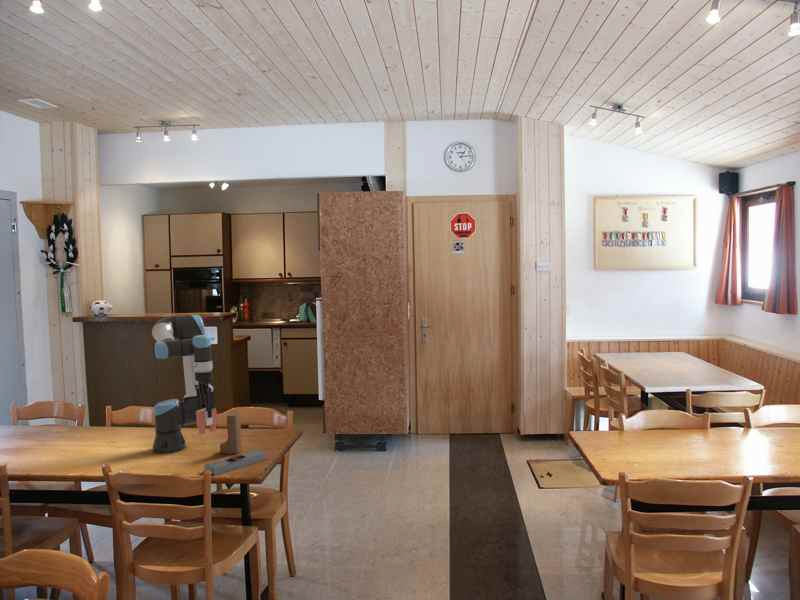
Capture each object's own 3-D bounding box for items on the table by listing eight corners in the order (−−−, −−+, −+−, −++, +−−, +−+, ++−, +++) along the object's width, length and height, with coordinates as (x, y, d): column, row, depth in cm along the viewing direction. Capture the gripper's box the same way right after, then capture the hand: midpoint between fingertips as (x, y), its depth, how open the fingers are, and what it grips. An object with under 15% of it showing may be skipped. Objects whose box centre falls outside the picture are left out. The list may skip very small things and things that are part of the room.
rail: (204, 471, 263) (204, 464, 263) (256, 456, 282) (256, 449, 282) (214, 475, 257) (213, 468, 257) (266, 459, 276) (266, 452, 276)
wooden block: (220, 453, 288) (217, 415, 287) (225, 450, 292) (223, 413, 291) (237, 454, 286) (234, 416, 285) (242, 451, 290) (239, 413, 289)
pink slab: (197, 433, 268) (195, 410, 267) (214, 429, 273) (212, 407, 273) (200, 434, 266) (199, 411, 265) (217, 430, 271) (216, 408, 271)
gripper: (186, 370, 271) (190, 423, 272) (205, 373, 260) (208, 428, 261) (202, 368, 276) (205, 419, 277) (221, 371, 265) (224, 425, 266)
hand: (207, 424), depth 269 cm, fingers closed on pink slab, 3 cm apart
